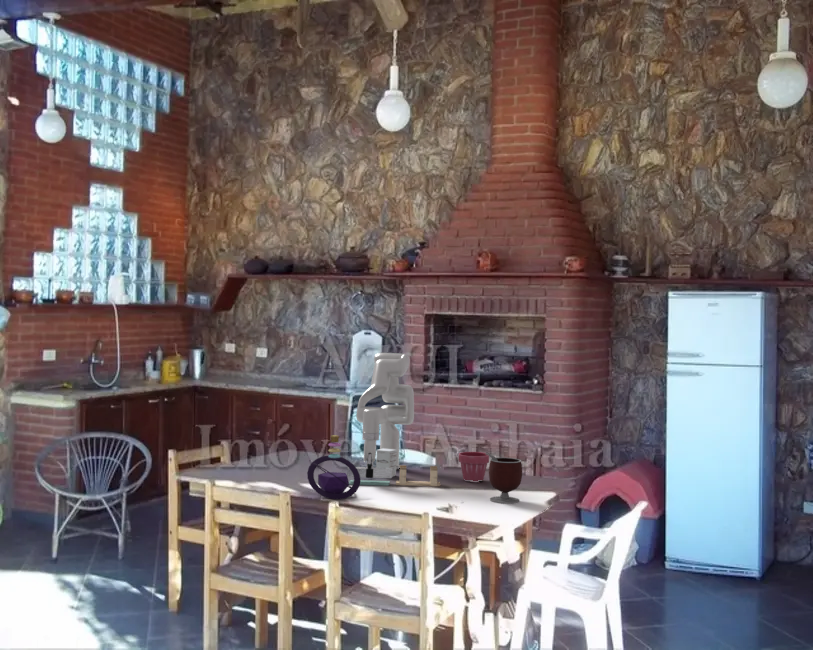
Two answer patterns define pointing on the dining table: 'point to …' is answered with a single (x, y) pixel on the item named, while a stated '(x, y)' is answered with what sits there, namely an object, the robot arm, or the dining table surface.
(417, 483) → the rack
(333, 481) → the decorative bottle
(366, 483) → the mat
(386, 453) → the supplement box
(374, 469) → the block
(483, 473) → the plant pot
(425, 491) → the dining table surface
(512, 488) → the mate gourd
